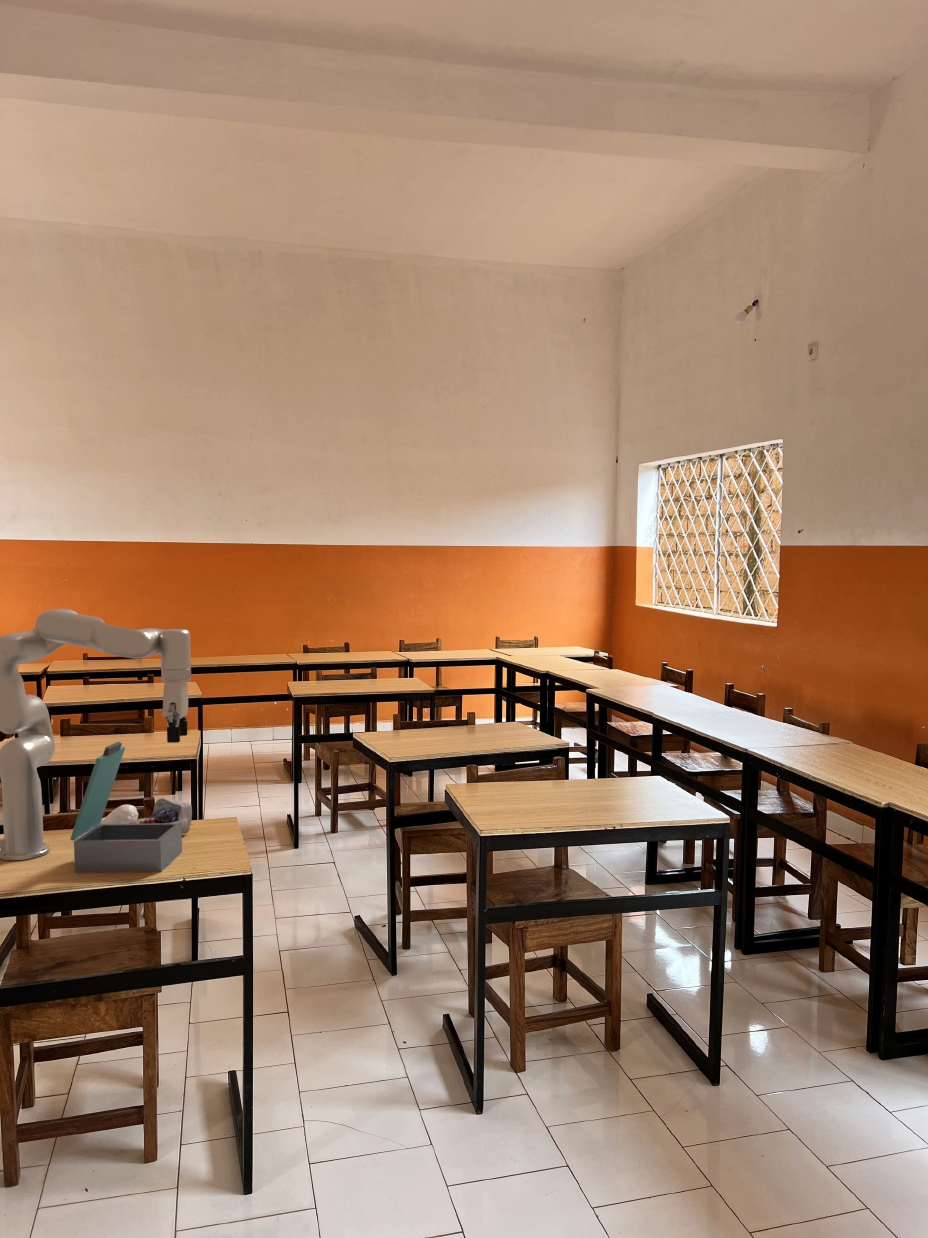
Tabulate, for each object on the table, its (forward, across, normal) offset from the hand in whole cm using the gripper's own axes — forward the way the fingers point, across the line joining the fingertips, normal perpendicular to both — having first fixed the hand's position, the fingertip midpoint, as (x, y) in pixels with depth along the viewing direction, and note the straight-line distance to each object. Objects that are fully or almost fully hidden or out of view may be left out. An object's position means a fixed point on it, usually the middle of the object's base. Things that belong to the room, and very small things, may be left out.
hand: (177, 739), depth 242 cm
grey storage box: (+31, +6, -11) cm, 34 cm away
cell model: (+32, -13, -9) cm, 35 cm away
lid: (+12, +5, -18) cm, 22 cm away
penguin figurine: (+32, -22, -22) cm, 44 cm away
